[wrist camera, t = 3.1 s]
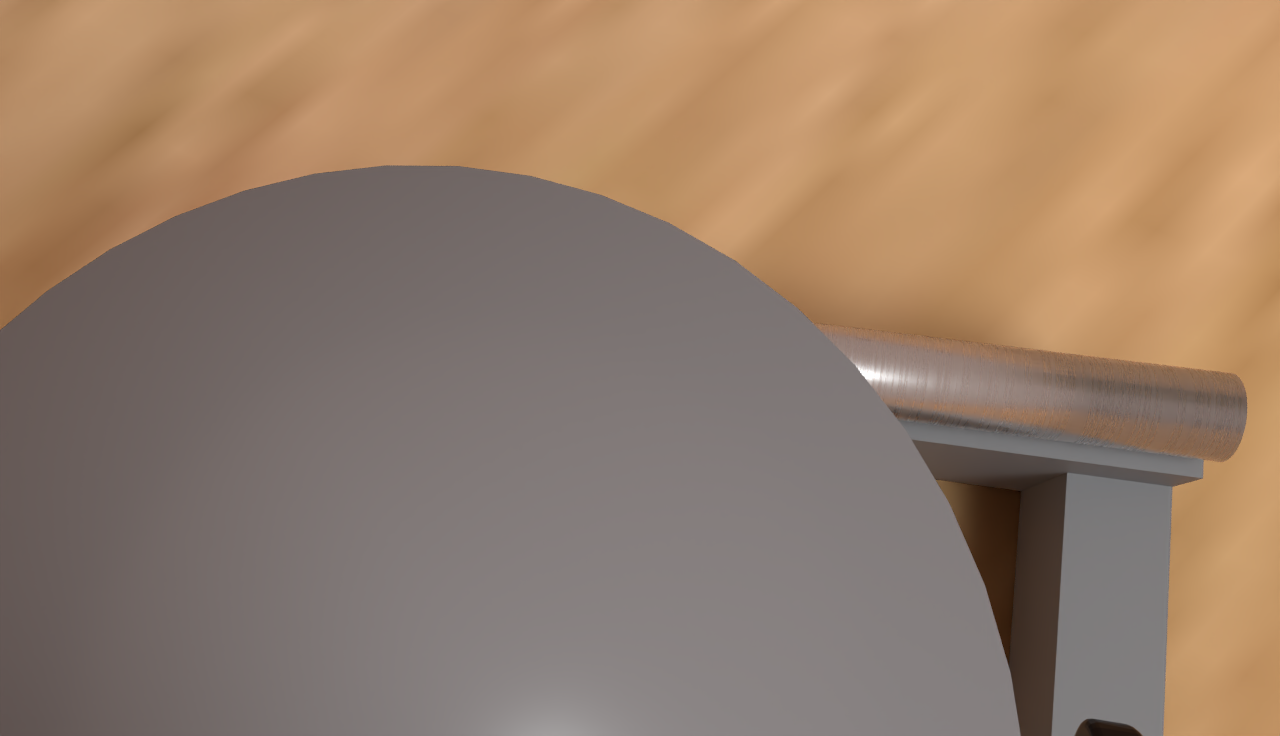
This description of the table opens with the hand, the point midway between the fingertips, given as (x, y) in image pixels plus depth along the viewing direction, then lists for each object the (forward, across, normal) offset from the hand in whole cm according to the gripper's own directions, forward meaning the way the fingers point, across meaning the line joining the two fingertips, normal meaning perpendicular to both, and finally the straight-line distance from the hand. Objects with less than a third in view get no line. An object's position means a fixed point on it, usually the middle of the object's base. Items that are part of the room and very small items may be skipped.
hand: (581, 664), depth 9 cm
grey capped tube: (+6, 0, +6) cm, 8 cm away
